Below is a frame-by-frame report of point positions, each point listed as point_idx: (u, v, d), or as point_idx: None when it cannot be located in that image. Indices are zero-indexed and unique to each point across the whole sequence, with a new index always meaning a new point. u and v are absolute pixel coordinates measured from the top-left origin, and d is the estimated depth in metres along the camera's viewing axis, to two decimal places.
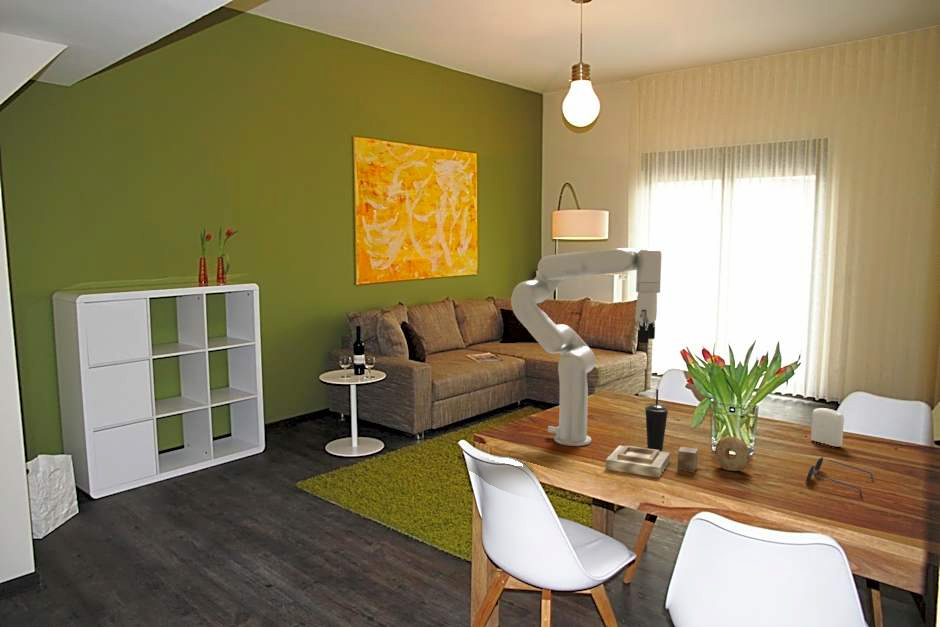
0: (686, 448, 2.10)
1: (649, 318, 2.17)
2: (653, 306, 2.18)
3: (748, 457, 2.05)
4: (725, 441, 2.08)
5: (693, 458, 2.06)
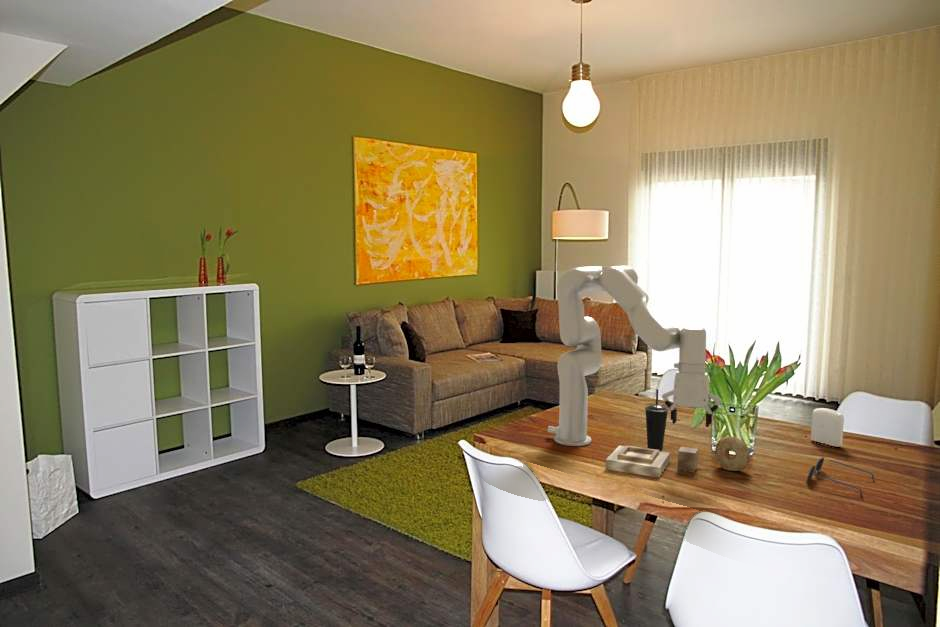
0: (686, 448, 2.10)
1: None
2: None
3: (748, 457, 2.05)
4: (725, 441, 2.08)
5: (693, 458, 2.06)
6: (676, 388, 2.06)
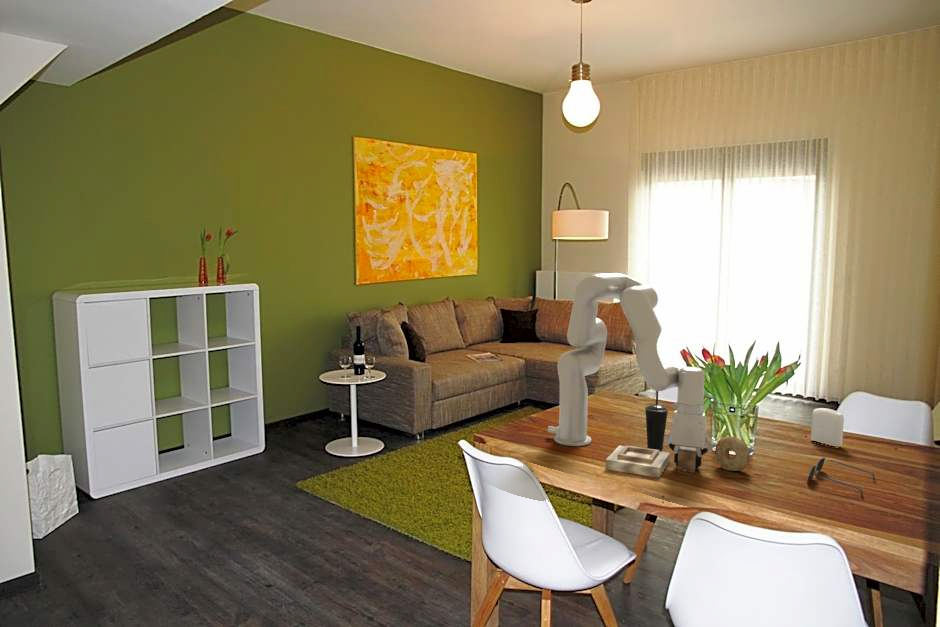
0: (686, 448, 2.10)
1: None
2: None
3: (748, 457, 2.05)
4: (725, 441, 2.08)
5: (693, 458, 2.06)
6: (674, 428, 2.08)
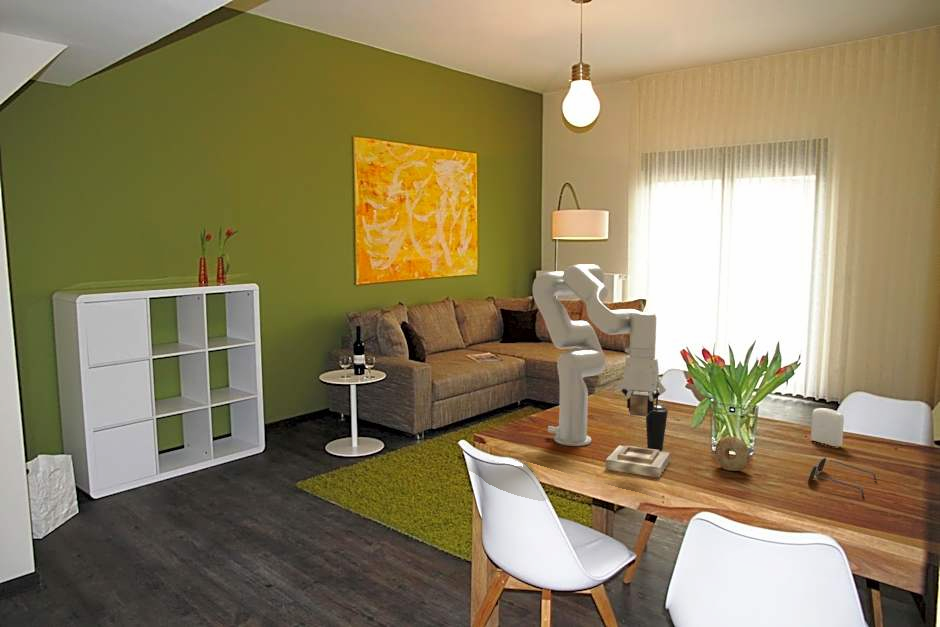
0: (639, 393, 2.11)
1: None
2: None
3: (748, 457, 2.05)
4: (725, 441, 2.08)
5: (645, 402, 2.07)
6: (626, 372, 2.09)
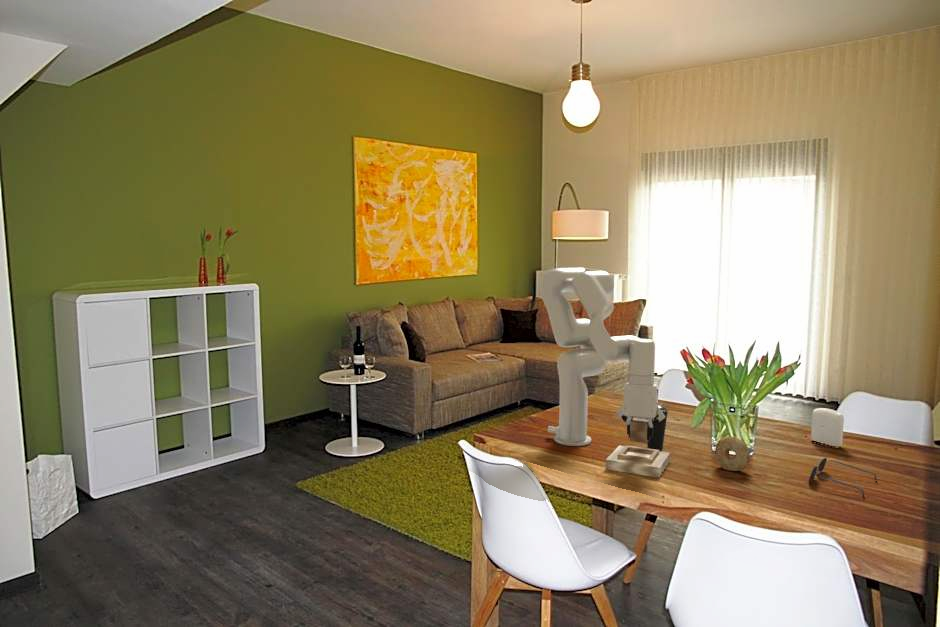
0: (638, 419, 2.12)
1: None
2: None
3: (748, 457, 2.05)
4: (725, 441, 2.08)
5: (644, 428, 2.08)
6: (625, 399, 2.09)
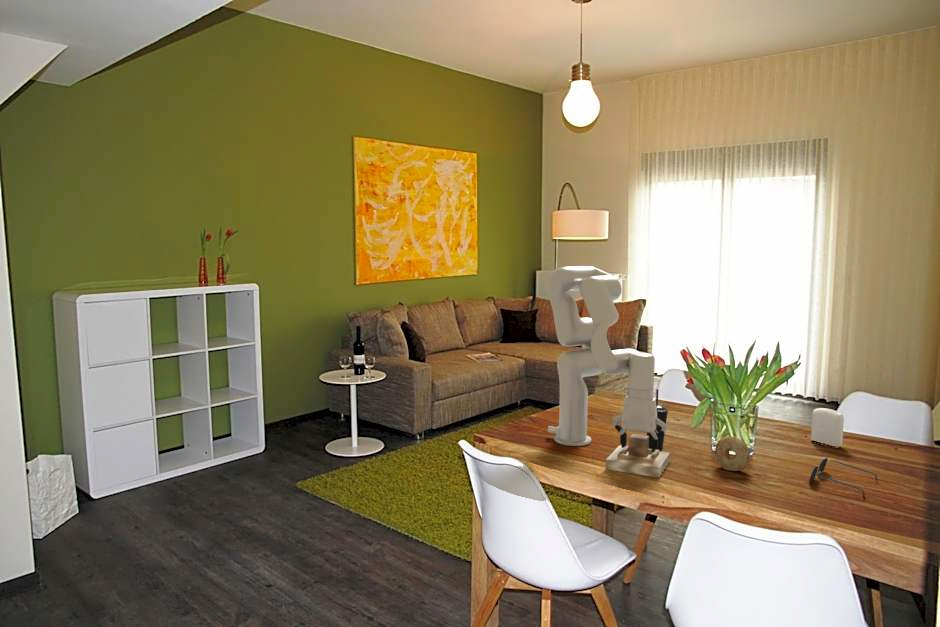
0: (637, 435, 2.13)
1: None
2: None
3: (748, 457, 2.05)
4: (725, 441, 2.08)
5: (643, 445, 2.08)
6: (624, 413, 2.10)
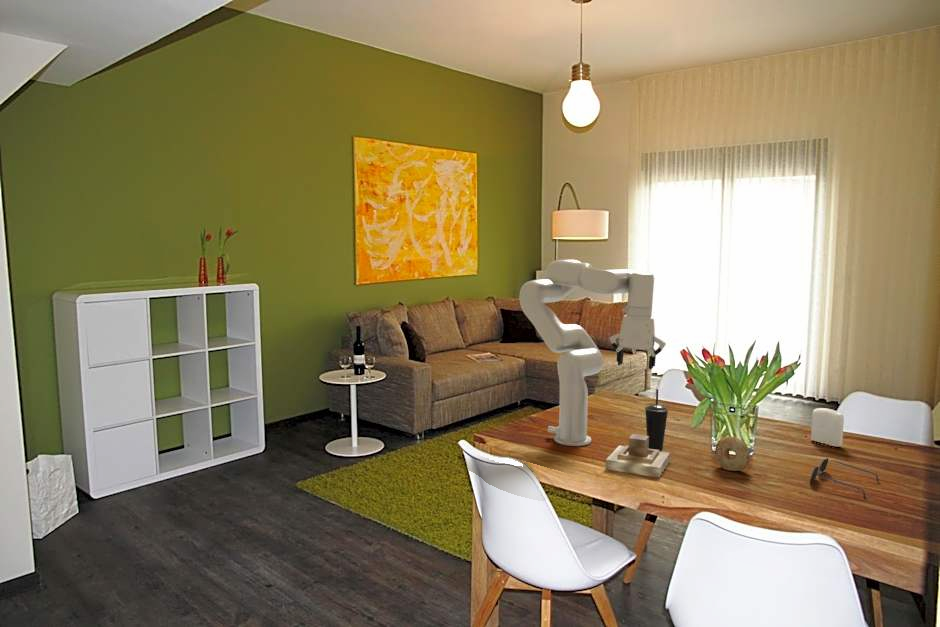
0: (637, 435, 2.13)
1: None
2: None
3: (748, 457, 2.05)
4: (725, 441, 2.08)
5: (643, 445, 2.08)
6: (622, 330, 2.14)
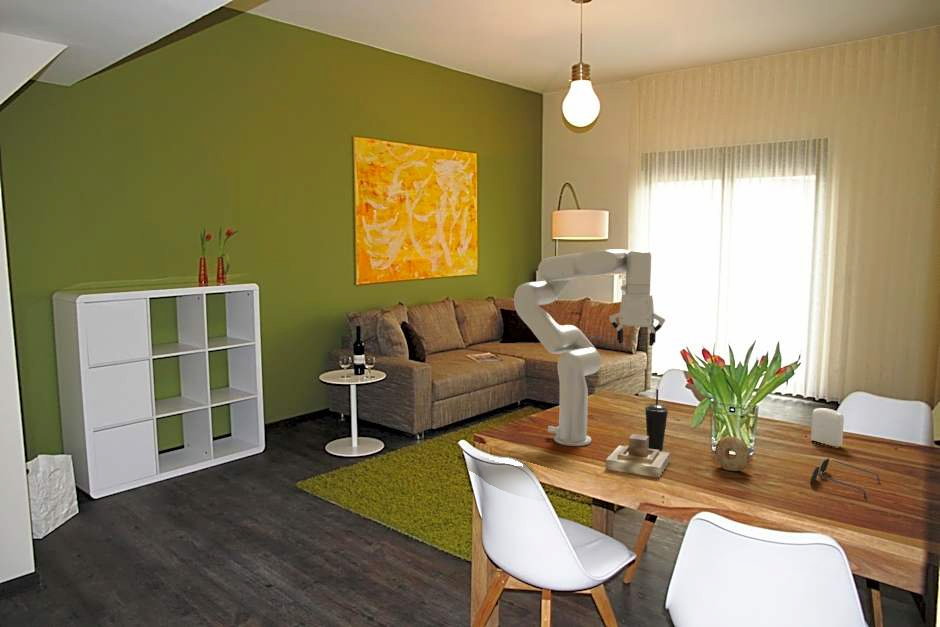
0: (637, 435, 2.13)
1: None
2: None
3: (748, 457, 2.05)
4: (725, 441, 2.08)
5: (643, 445, 2.08)
6: (622, 309, 2.16)
